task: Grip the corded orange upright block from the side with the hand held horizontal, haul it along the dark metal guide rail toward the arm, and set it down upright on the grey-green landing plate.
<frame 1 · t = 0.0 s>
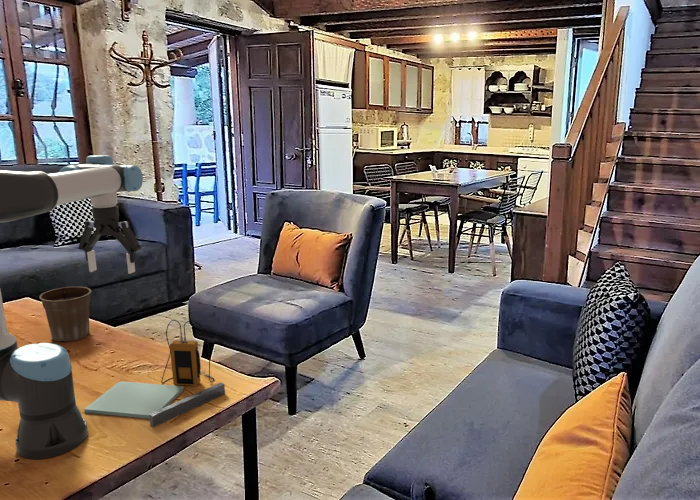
hand: (112, 271, 174), 28 cm above the table, tool pointing down, fingers open, 13 cm apart
landing plate: (136, 400, 149), on the table
guide rail: (189, 408, 145), on the table
plant pot: (71, 336, 195), on the table
corded orange upright block: (191, 379, 162), on the table
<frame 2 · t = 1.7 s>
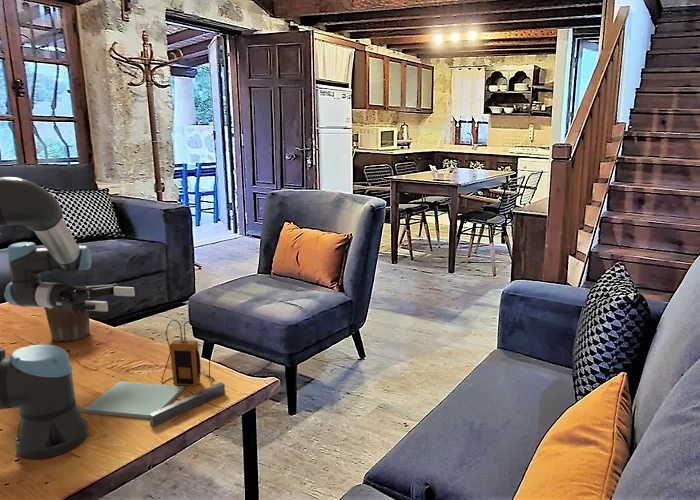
hand: (120, 299, 160), 24 cm above the table, tool horizontal, fingers open, 13 cm apart
nothing on the table moved.
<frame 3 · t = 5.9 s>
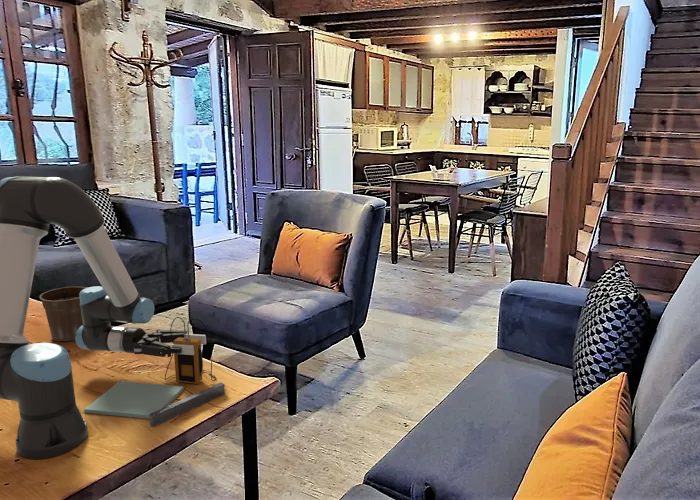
hand: (199, 344, 159), 11 cm above the table, tool horizontal, fingers open, 7 cm apart
corded orange upright block: (194, 376, 163), on the table
everything else where it was.
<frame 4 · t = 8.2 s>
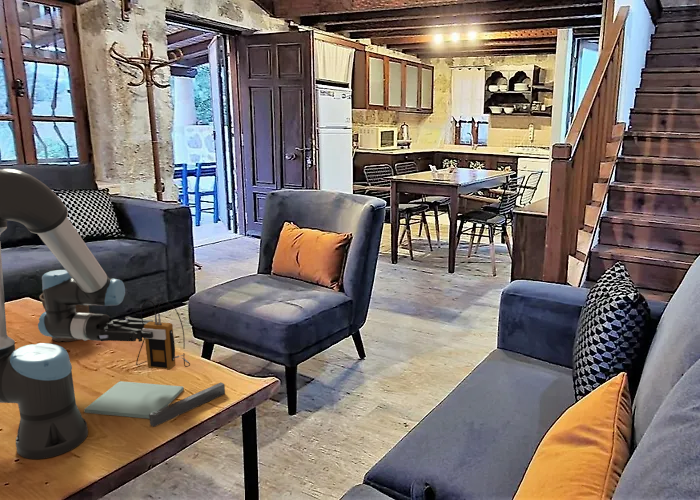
hand: (168, 332, 150), 18 cm above the table, tool horizontal, fingers closed on corded orange upright block, 3 cm apart
corded orange upright block: (168, 362, 157), point 7 cm above the table, touching gripper
everything else where it was.
when the fingers open (14 cm above the table, at t = 9.9 s): corded orange upright block drops 2 cm, resting on landing plate.
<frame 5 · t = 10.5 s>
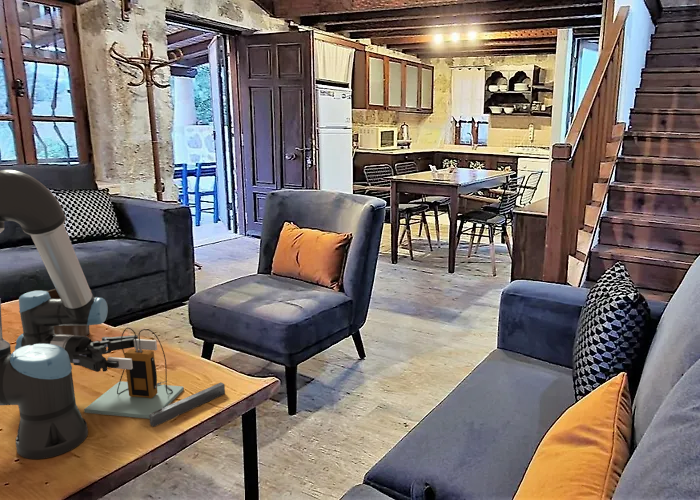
hand: (144, 354, 147), 14 cm above the table, tool horizontal, fingers open, 11 cm apart
corded orange upright block: (150, 390, 154), point 1 cm above the table, touching landing plate
everything else where it was.
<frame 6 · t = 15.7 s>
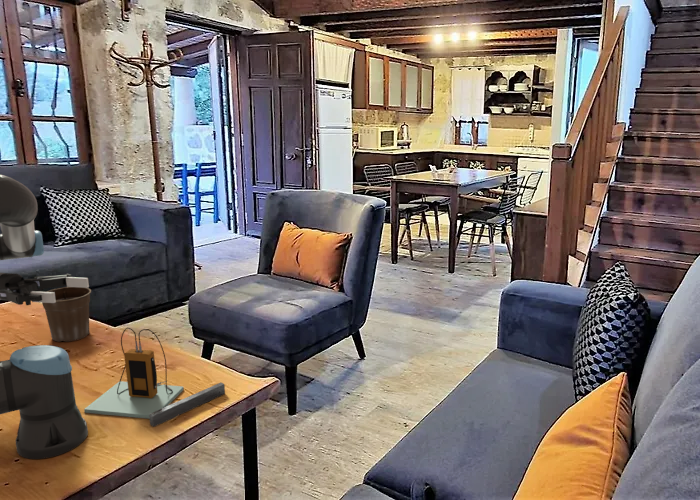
hand: (71, 289, 149), 30 cm above the table, tool horizontal, fingers open, 13 cm apart
nothing on the table moved.
at the end: corded orange upright block inside the target area on the landing plate (4.4 cm from its centre), point 0.8 cm above the landing plate's base; corded orange upright block tilted 0°; the gripper is holding nothing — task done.
